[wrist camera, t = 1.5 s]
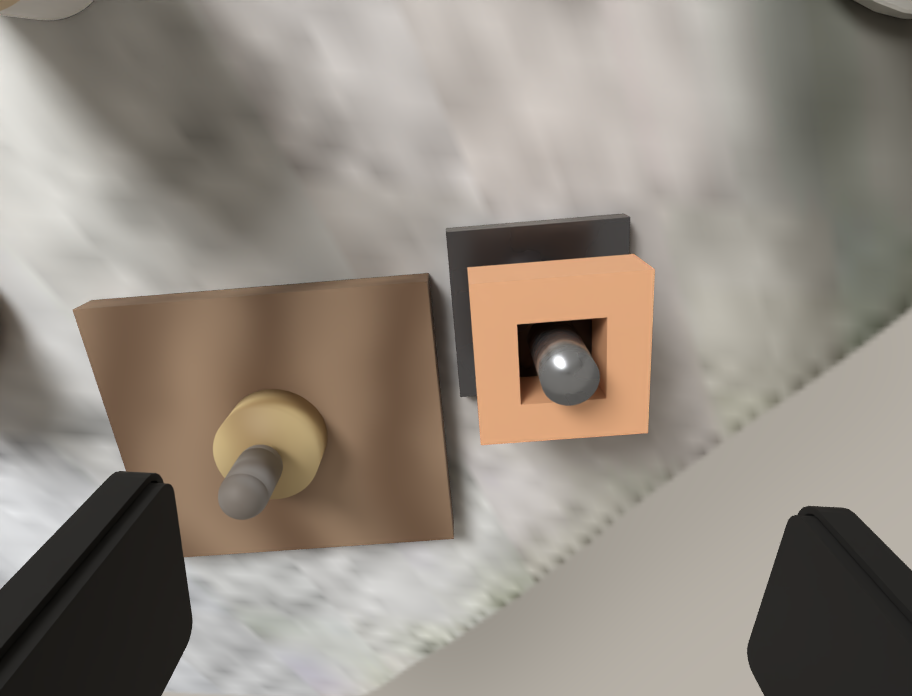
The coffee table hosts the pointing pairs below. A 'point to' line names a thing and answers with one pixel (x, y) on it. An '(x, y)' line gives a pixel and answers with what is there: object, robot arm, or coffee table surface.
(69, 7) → the coffee cup
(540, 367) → the stand
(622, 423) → the square peach frame
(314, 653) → the coffee table surface
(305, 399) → the toggle switch
